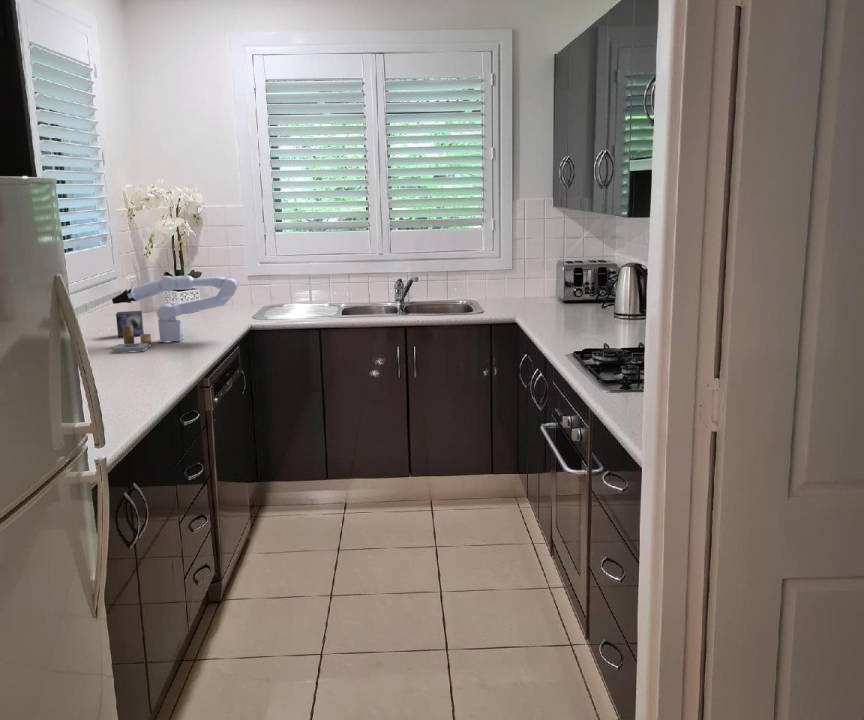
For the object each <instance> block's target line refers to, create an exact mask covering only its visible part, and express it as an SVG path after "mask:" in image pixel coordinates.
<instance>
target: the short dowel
mask: <svg viewBox="0 0 864 720" xmlns="http://www.w3.org/2000/svg"><path fill="white" fill-rule="evenodd" d="M139 337H140V343H149V345H150V344H151V345H152V339H151V338H152V337H151V334H150V333H144V334H142V335H140V336H139Z"/></svg>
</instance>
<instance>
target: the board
mask: <svg viewBox="0 0 864 720" xmlns="http://www.w3.org/2000/svg"><path fill="white" fill-rule="evenodd" d="M148 347H149V348H150V346H149V343H141V342H139V343H134V344H124V343H118V344H117V345H116V346H115V345H114V346H113V348H112V353H113V354H121V353H120V352H129V351H143V350H145V349H146V348H148ZM149 348H148V349H149ZM118 352H119V353H118Z"/></svg>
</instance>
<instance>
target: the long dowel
mask: <svg viewBox="0 0 864 720" xmlns="http://www.w3.org/2000/svg"><path fill="white" fill-rule="evenodd" d="M122 328H123V337H122V338H123V344H135V336H134V335H133V326H132V325H125V326H122Z"/></svg>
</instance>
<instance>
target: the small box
mask: <svg viewBox="0 0 864 720" xmlns="http://www.w3.org/2000/svg"><path fill="white" fill-rule="evenodd" d="M115 318H116V320H115V321H116V327H117V329H116V330H117V337H118V338H124V337H123V328H122V326H125V325H132V326H133V335H134V337H140V335H142V334H145V331H144V322H143V310H129V311H117V312H116V313H115Z"/></svg>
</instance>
